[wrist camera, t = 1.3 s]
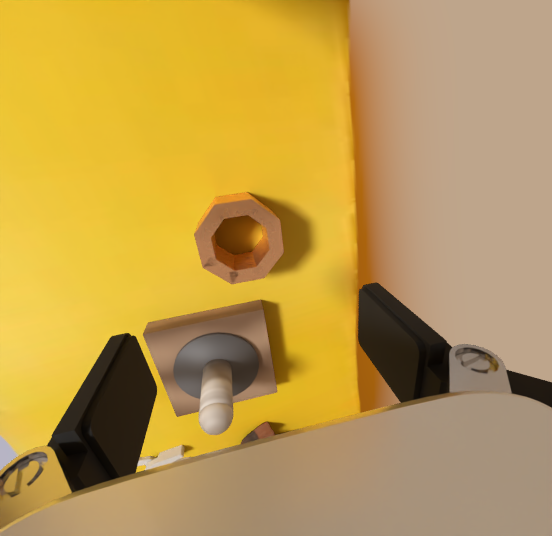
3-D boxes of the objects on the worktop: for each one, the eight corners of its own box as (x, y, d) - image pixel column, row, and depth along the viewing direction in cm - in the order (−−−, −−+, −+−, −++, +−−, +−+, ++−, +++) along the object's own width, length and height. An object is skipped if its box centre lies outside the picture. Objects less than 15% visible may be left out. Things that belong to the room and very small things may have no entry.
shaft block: (148, 322, 28) (114, 398, 19) (260, 299, 29) (276, 360, 21) (179, 402, 33) (164, 490, 24) (274, 379, 34) (292, 455, 25)
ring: (192, 200, 24) (187, 208, 20) (269, 188, 25) (277, 194, 21) (210, 270, 27) (208, 288, 23) (278, 257, 28) (286, 273, 24)
